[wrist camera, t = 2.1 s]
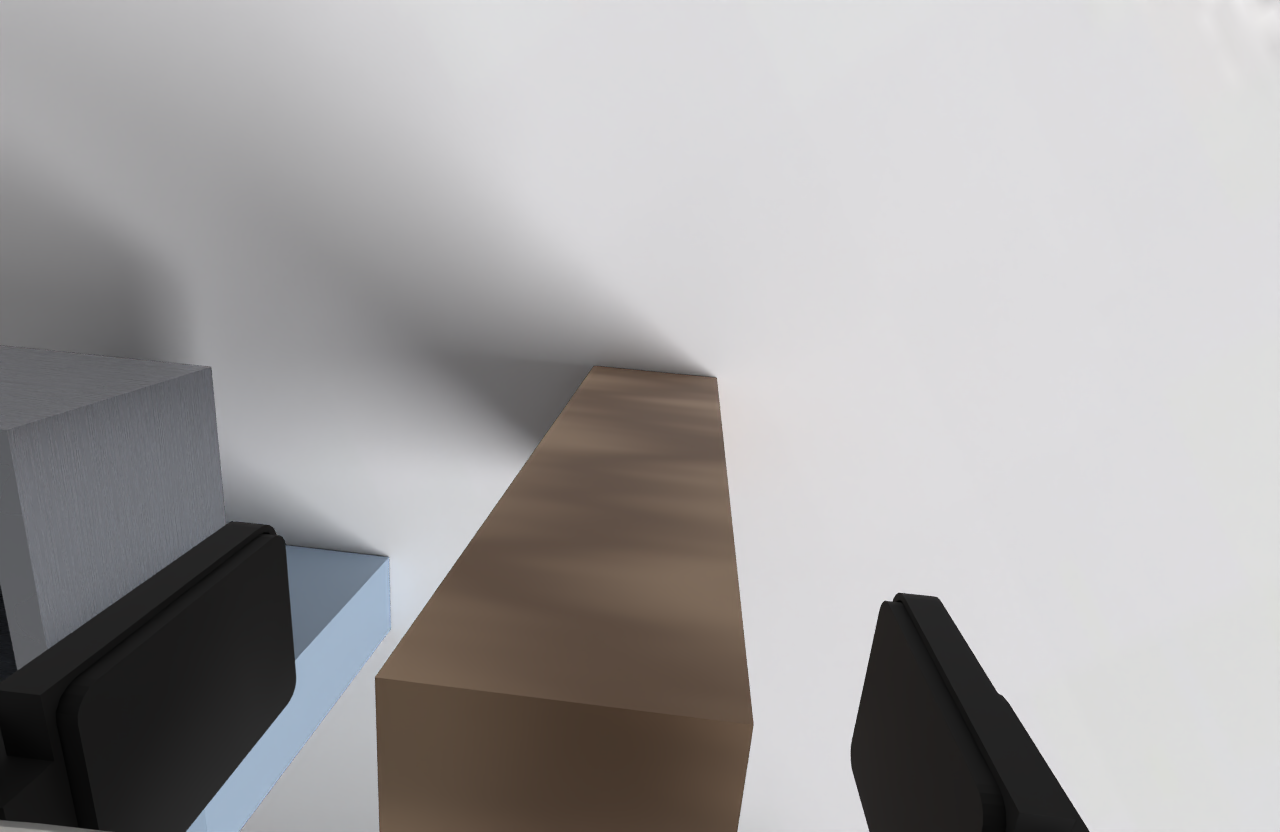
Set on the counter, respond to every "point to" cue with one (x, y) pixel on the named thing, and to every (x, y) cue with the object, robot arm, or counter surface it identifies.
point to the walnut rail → (583, 637)
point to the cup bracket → (96, 485)
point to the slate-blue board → (310, 668)
